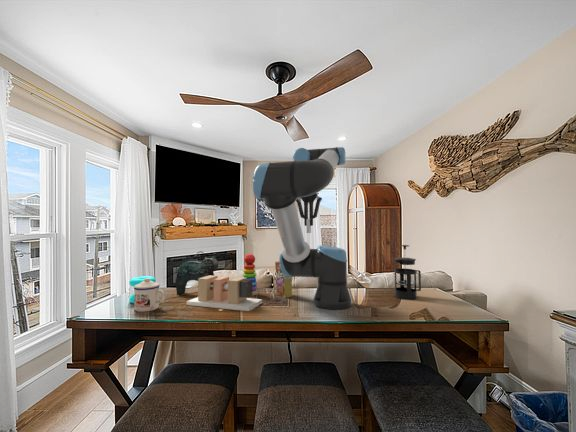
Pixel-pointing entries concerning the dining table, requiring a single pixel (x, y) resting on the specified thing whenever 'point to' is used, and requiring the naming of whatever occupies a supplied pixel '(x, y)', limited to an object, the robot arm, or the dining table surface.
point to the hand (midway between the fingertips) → (308, 232)
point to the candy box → (282, 282)
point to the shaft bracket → (222, 294)
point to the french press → (402, 291)
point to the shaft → (244, 288)
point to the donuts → (137, 281)
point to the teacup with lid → (147, 296)
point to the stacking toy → (250, 272)
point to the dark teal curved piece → (194, 271)
